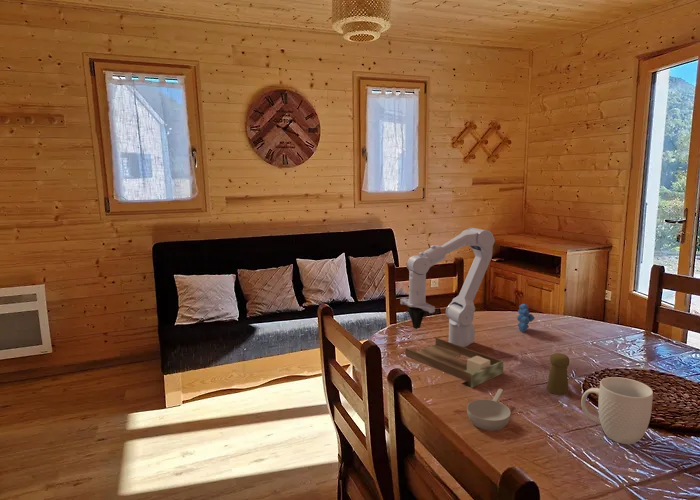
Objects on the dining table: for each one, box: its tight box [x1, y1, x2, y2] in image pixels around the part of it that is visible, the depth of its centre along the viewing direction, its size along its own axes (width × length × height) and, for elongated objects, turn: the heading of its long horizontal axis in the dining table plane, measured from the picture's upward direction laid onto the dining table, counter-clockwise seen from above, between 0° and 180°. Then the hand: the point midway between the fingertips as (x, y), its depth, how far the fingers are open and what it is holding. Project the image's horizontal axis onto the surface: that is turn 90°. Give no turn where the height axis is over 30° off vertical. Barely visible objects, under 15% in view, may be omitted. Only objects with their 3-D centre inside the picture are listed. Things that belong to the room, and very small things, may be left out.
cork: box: [546, 352, 570, 396], centre depth 137 cm, size 6×6×11 cm
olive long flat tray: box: [405, 337, 504, 389], centre depth 155 cm, size 16×28×4 cm, turn 39°
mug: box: [580, 376, 654, 445], centre depth 114 cm, size 15×11×13 cm
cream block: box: [466, 356, 490, 374], centre depth 147 cm, size 5×5×4 cm
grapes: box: [516, 303, 536, 333], centre depth 186 cm, size 12×7×12 cm, turn 169°
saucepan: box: [466, 388, 511, 432], centre depth 124 cm, size 11×18×4 cm, turn 148°
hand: (416, 327), depth 165 cm, fingers closed
